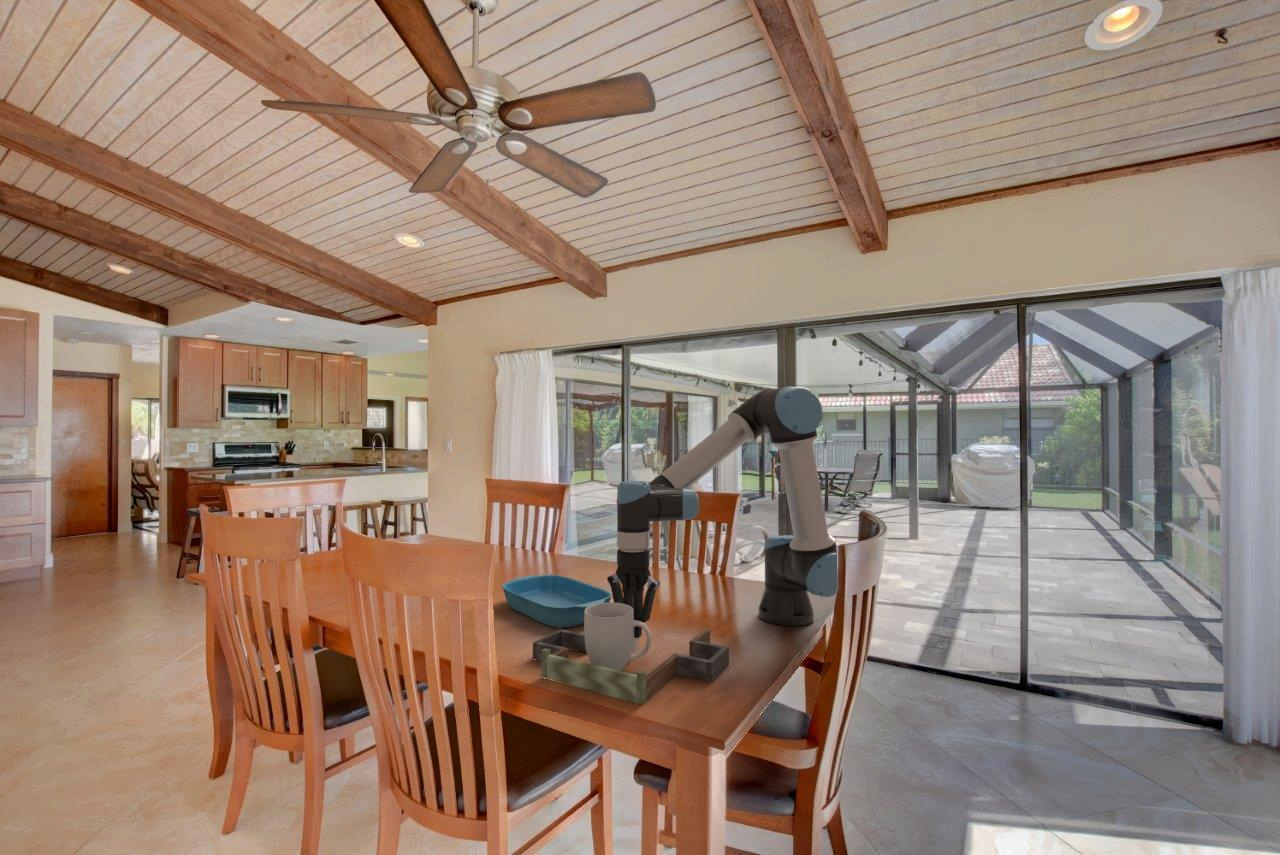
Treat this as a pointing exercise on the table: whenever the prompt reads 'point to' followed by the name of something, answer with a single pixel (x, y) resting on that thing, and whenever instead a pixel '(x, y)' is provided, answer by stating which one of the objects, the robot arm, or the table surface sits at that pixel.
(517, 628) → the table surface
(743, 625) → the table surface
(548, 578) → the casserole dish
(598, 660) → the mug
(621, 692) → the channel
